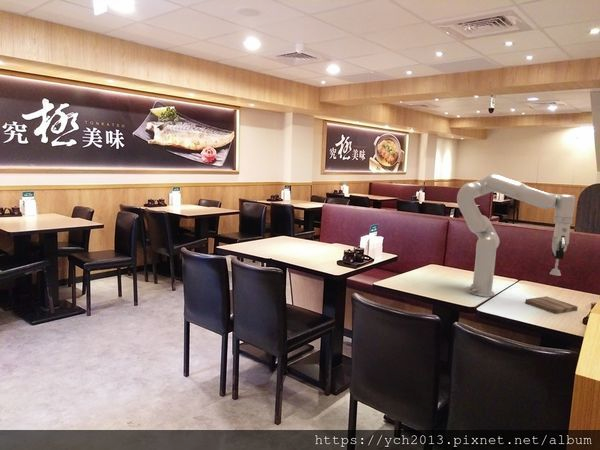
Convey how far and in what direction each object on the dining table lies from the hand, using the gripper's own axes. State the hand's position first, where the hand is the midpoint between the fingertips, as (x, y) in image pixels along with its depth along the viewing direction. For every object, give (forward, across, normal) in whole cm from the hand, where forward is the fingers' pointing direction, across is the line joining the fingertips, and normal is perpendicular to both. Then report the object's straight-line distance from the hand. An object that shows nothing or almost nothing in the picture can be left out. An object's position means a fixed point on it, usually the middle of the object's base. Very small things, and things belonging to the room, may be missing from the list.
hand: (557, 257), depth 206 cm
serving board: (+25, 0, 0) cm, 25 cm away
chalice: (+9, 0, 0) cm, 9 cm away
